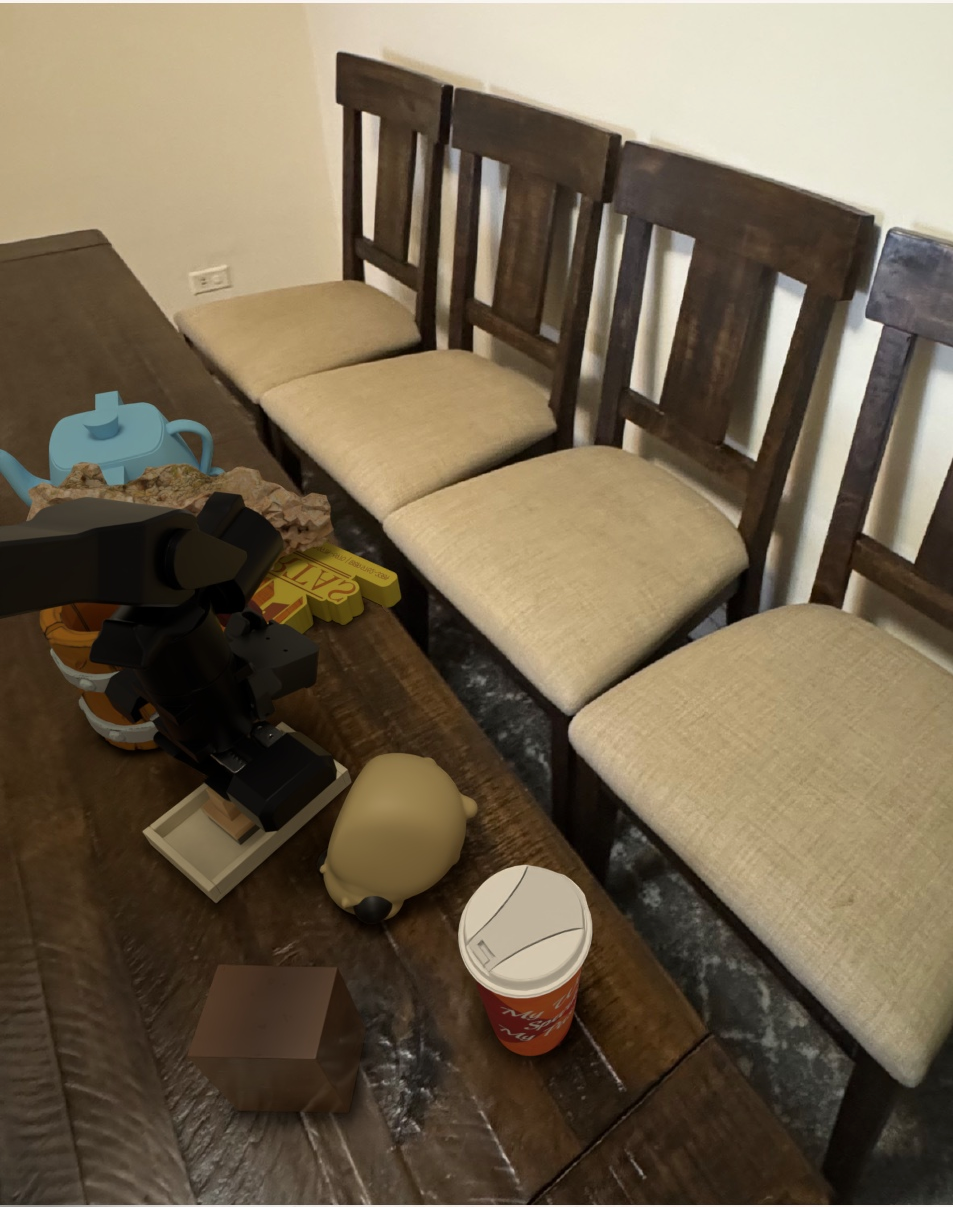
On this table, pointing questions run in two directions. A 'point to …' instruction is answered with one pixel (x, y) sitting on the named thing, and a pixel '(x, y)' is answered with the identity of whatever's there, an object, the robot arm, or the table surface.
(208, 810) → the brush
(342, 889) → the tan animal figurine
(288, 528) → the rock
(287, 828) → the tray
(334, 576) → the decorative sign
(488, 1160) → the table surface
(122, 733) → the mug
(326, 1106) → the brown block
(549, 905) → the paper cup
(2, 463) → the teapot
